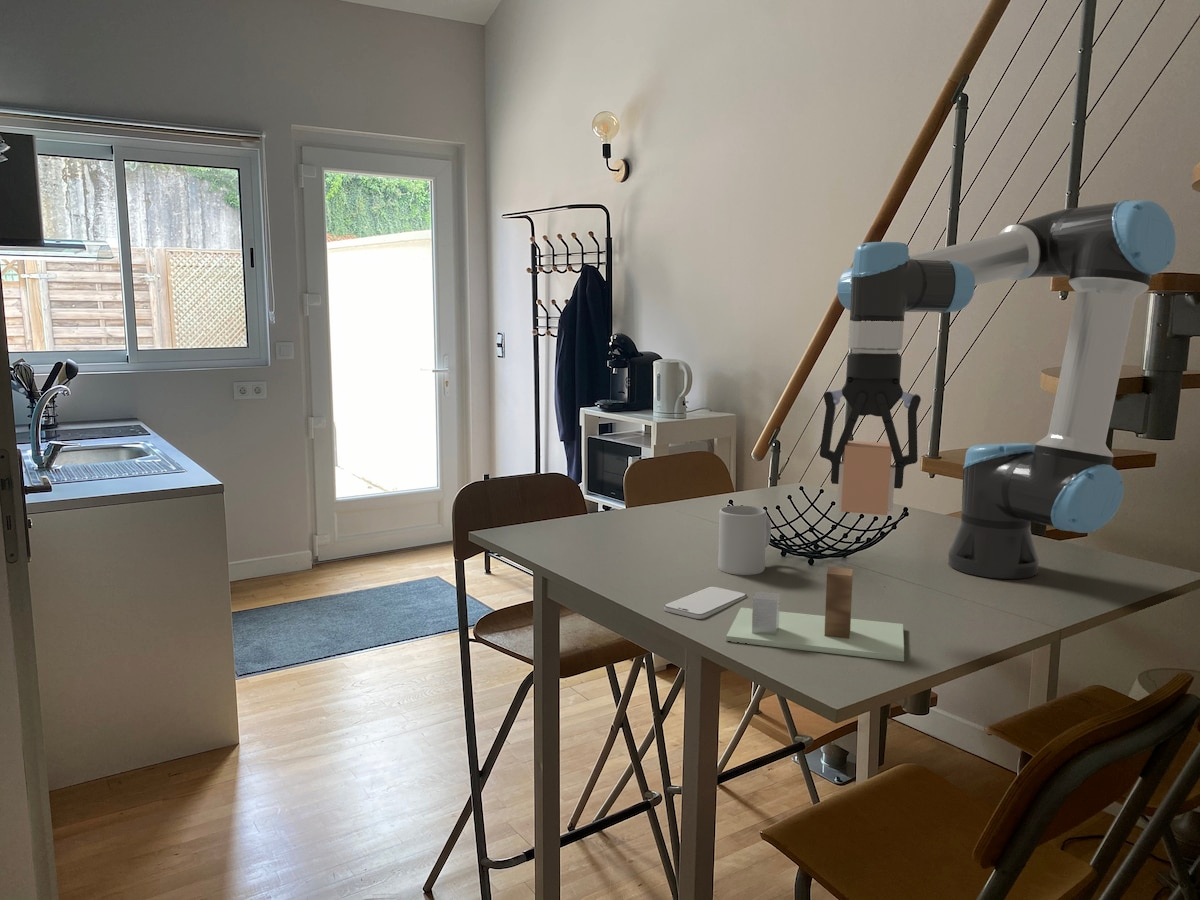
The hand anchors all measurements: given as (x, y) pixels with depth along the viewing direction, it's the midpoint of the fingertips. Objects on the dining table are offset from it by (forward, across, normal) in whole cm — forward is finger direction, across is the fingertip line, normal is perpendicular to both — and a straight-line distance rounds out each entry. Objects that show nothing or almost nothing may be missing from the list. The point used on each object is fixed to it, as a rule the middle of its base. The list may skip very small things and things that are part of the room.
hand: (864, 507), depth 131 cm
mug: (+18, +21, -24) cm, 37 cm away
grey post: (+18, +12, +10) cm, 24 cm away
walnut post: (+18, +2, +8) cm, 20 cm away
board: (+18, +5, +8) cm, 20 cm away
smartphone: (+19, +24, -1) cm, 30 cm away
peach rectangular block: (0, 0, 0) cm, 0 cm away
